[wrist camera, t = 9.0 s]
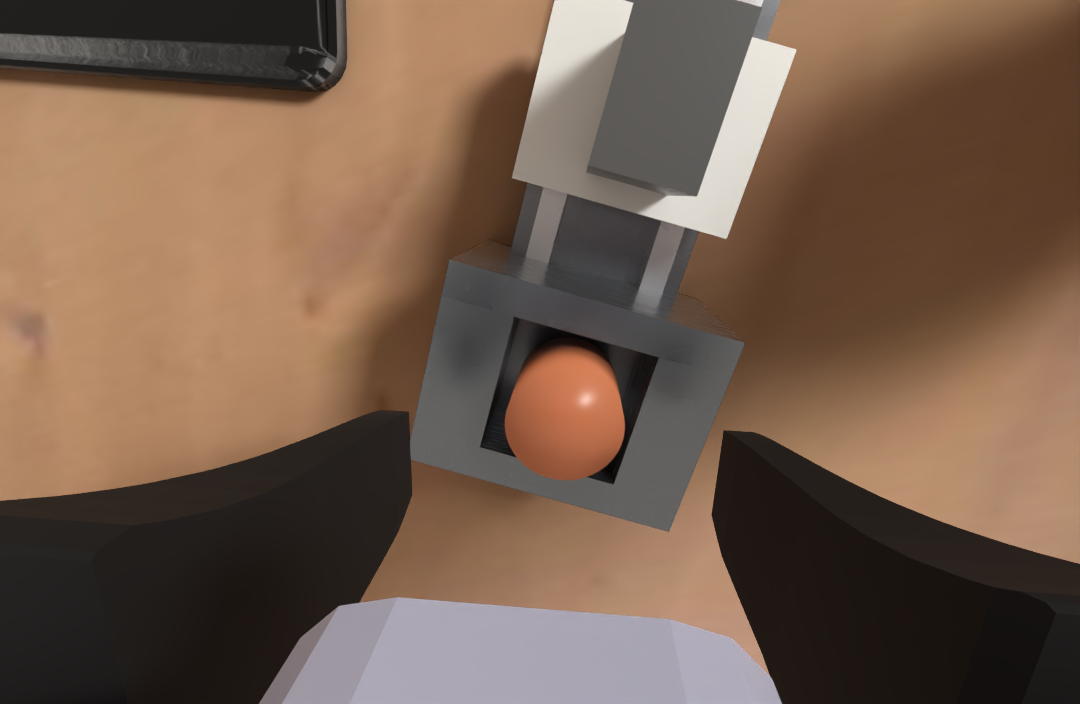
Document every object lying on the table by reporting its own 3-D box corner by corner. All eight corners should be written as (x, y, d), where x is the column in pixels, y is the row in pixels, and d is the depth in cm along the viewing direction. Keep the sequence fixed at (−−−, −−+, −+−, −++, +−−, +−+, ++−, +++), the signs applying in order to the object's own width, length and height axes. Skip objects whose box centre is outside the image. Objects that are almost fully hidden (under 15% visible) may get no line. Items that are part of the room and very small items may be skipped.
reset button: (630, 353, 16) (640, 389, 13) (600, 441, 17) (604, 493, 14) (532, 325, 16) (521, 355, 13) (507, 415, 17) (492, 462, 14)
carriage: (770, 67, 16) (878, -5, 10) (710, 233, 17) (774, 254, 12) (561, 6, 16) (551, -99, 10) (519, 179, 17) (488, 173, 11)
